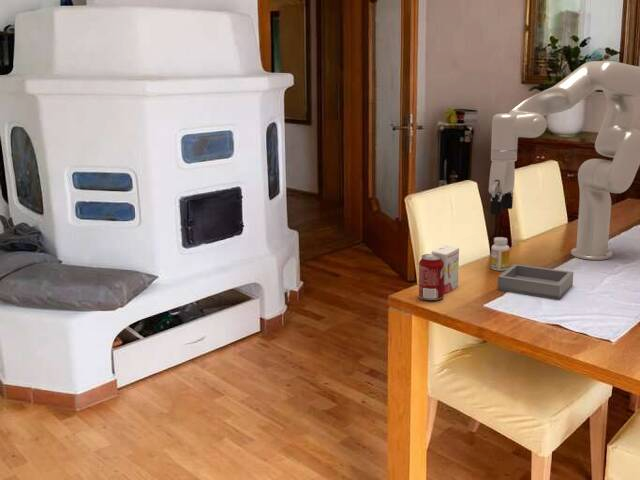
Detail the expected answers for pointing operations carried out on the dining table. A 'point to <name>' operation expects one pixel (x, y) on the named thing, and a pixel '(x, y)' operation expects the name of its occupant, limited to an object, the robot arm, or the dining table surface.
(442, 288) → the soda can
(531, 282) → the tray
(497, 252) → the pill bottle
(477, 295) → the dining table surface
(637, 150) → the robot arm
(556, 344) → the dining table surface
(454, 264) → the ink box
